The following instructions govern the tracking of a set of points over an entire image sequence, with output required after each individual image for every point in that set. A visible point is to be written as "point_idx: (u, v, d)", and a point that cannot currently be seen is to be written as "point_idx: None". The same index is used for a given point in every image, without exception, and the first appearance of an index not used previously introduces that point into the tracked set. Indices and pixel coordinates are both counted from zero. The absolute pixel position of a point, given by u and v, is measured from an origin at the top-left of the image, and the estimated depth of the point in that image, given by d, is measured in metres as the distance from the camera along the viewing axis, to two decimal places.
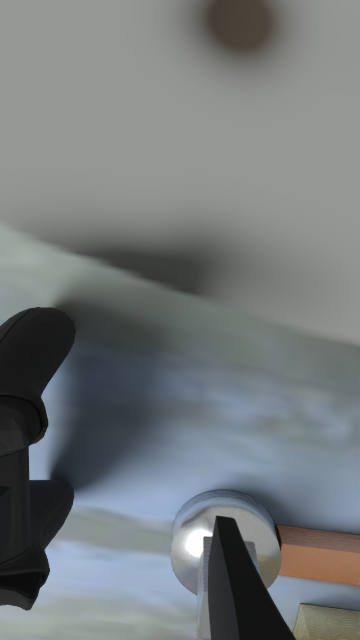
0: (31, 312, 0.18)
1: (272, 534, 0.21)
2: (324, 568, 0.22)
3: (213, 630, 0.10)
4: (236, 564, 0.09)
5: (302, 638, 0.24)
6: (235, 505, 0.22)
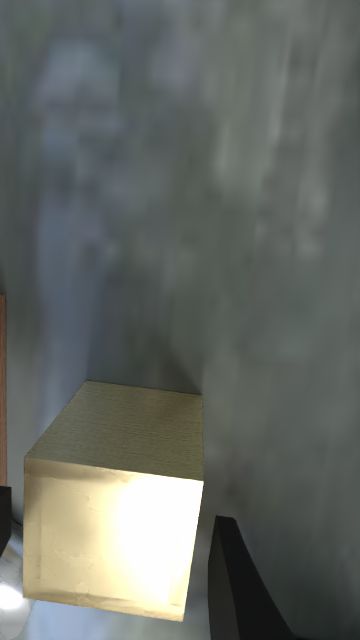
0: None
1: None
2: None
3: (213, 630, 0.10)
4: (236, 564, 0.09)
5: None
6: None
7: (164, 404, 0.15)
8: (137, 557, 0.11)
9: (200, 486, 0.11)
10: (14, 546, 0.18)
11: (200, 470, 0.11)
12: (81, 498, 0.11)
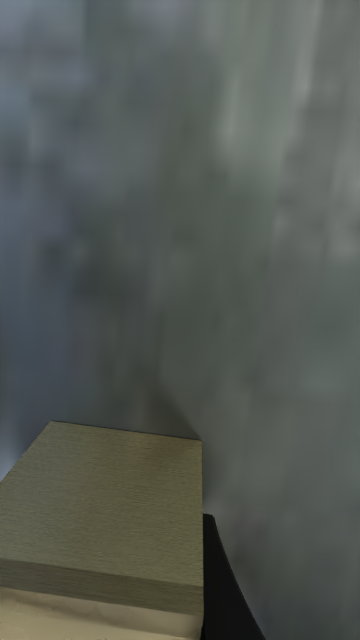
0: None
1: None
2: None
3: None
4: (209, 560, 0.09)
5: None
6: None
7: (151, 458, 0.11)
8: None
9: (199, 623, 0.07)
10: None
11: (199, 590, 0.07)
12: (15, 635, 0.07)
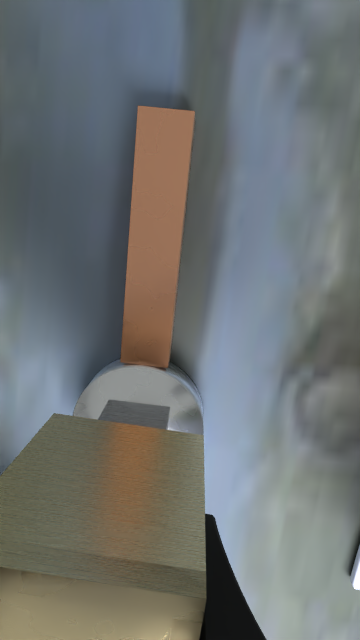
0: None
1: (98, 378, 0.18)
2: (153, 310, 0.17)
3: None
4: (210, 560, 0.09)
5: None
6: None
7: (153, 450, 0.11)
8: None
9: (201, 606, 0.07)
10: (186, 382, 0.18)
11: (201, 574, 0.07)
12: (20, 617, 0.07)
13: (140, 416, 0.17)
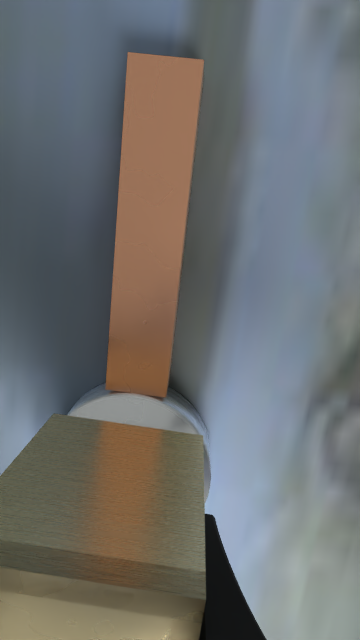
0: None
1: (76, 410, 0.14)
2: (148, 324, 0.13)
3: None
4: (210, 560, 0.09)
5: None
6: None
7: (153, 450, 0.11)
8: None
9: (201, 606, 0.07)
10: (189, 414, 0.15)
11: (201, 575, 0.07)
12: (20, 617, 0.07)
13: None
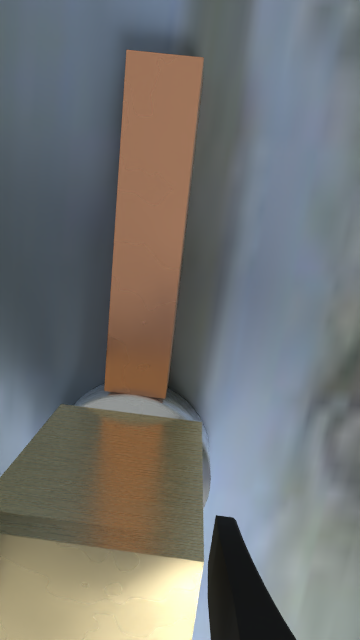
0: None
1: None
2: (147, 325, 0.13)
3: (213, 630, 0.10)
4: (236, 564, 0.09)
5: None
6: None
7: (155, 436, 0.12)
8: None
9: (199, 568, 0.08)
10: (188, 415, 0.14)
11: (199, 541, 0.08)
12: (38, 581, 0.08)
13: None
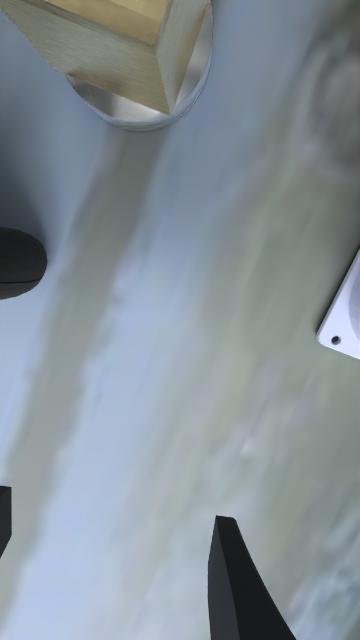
0: None
1: None
2: None
3: (213, 630, 0.10)
4: (236, 564, 0.09)
5: (69, 65, 0.14)
6: None
7: None
8: None
9: None
10: None
11: None
12: None
13: None
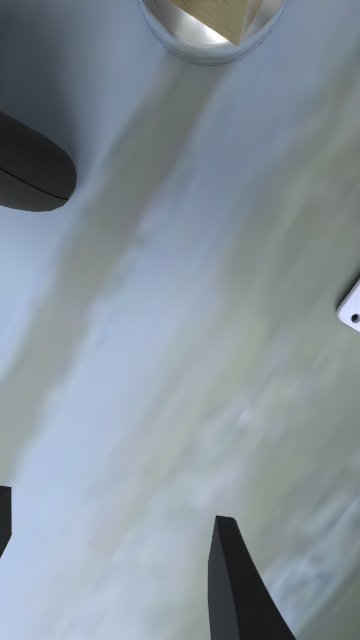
0: None
1: None
2: None
3: (213, 630, 0.10)
4: (236, 564, 0.09)
5: None
6: None
7: None
8: None
9: None
10: None
11: None
12: None
13: None
